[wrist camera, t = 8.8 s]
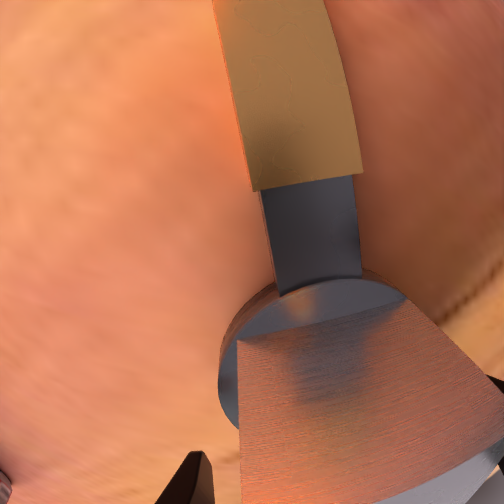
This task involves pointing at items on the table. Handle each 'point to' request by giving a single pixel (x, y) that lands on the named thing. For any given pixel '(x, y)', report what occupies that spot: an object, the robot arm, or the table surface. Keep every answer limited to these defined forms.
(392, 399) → the white metal cube
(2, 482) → the soda can
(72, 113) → the table surface
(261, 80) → the ratchet
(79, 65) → the table surface
